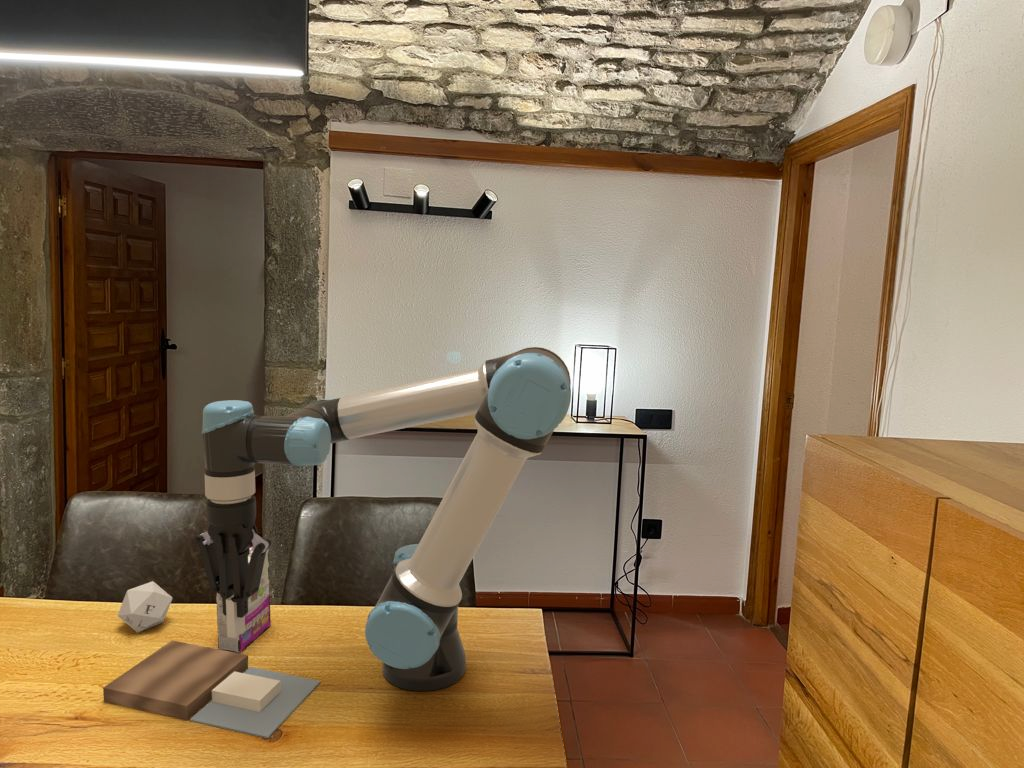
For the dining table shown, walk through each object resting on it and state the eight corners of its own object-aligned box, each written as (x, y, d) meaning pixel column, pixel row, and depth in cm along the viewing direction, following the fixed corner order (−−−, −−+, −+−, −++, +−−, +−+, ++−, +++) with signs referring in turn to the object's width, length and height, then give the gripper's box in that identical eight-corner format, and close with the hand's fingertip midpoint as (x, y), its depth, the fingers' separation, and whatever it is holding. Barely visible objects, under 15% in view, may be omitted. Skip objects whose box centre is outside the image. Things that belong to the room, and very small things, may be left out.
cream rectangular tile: (280, 691, 122) (280, 680, 121) (259, 711, 116) (259, 700, 115) (234, 682, 124) (234, 671, 123) (211, 701, 118) (211, 690, 118)
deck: (248, 668, 129) (247, 655, 128) (187, 720, 113) (186, 705, 113) (172, 652, 133) (172, 640, 132) (103, 701, 117) (103, 687, 117)
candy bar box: (249, 622, 145) (247, 545, 142) (271, 626, 144) (270, 548, 141) (215, 650, 134) (213, 567, 132) (239, 654, 133) (238, 571, 131)
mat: (320, 682, 125) (320, 680, 125) (267, 738, 110) (267, 736, 110) (250, 668, 129) (250, 666, 129) (189, 720, 113) (189, 719, 113)
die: (109, 637, 138) (125, 607, 134) (119, 598, 145) (134, 568, 141) (156, 643, 142) (172, 615, 138) (163, 605, 149) (179, 576, 145)
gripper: (280, 493, 117) (283, 628, 121) (211, 486, 120) (216, 617, 124) (252, 508, 110) (257, 650, 113) (180, 499, 113) (187, 638, 117)
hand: (236, 633), depth 119 cm, fingers closed
